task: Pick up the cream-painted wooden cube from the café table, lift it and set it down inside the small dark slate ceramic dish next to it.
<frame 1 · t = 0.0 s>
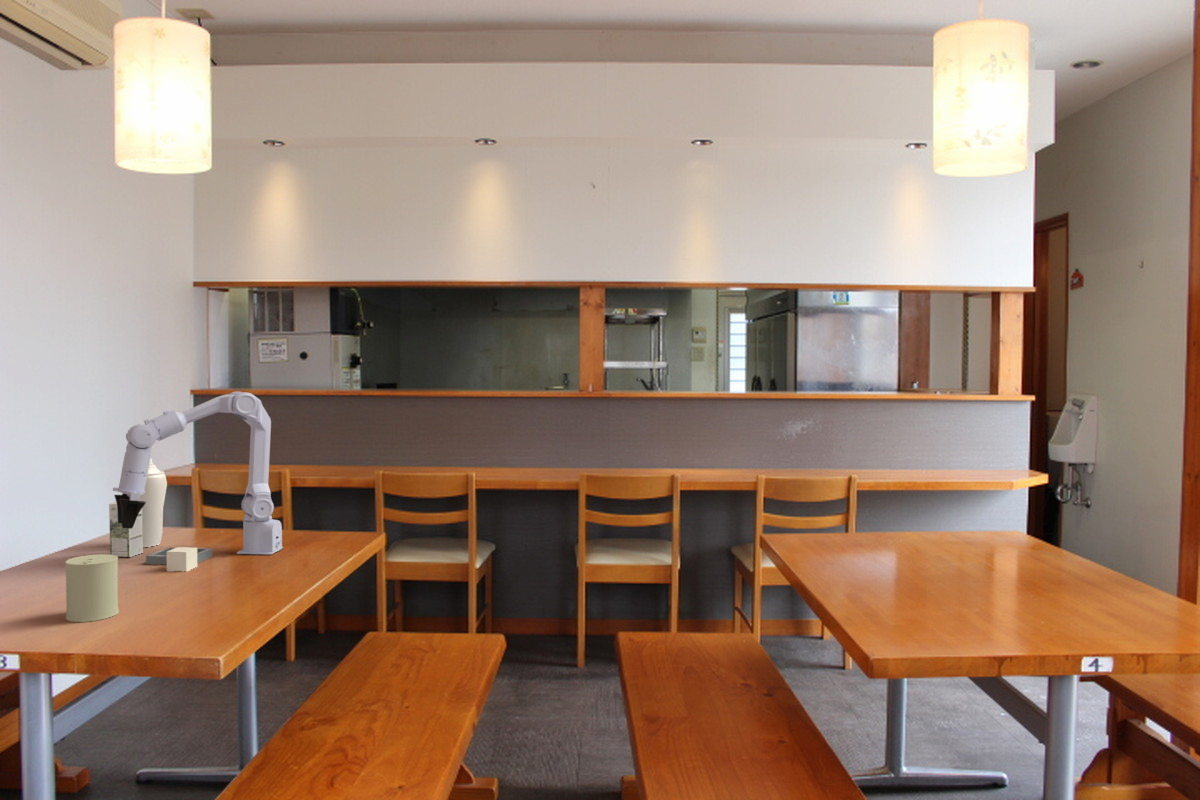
hand: (124, 525, 206), 11 cm above the table, tool pointing down, fingers open, 7 cm apart
syrup box: (126, 556, 219), on the table
can: (92, 616, 167), on the table
spray can: (146, 546, 231), on the table
slate dish: (180, 560, 214), on the table
cream cube: (182, 569, 206), on the table
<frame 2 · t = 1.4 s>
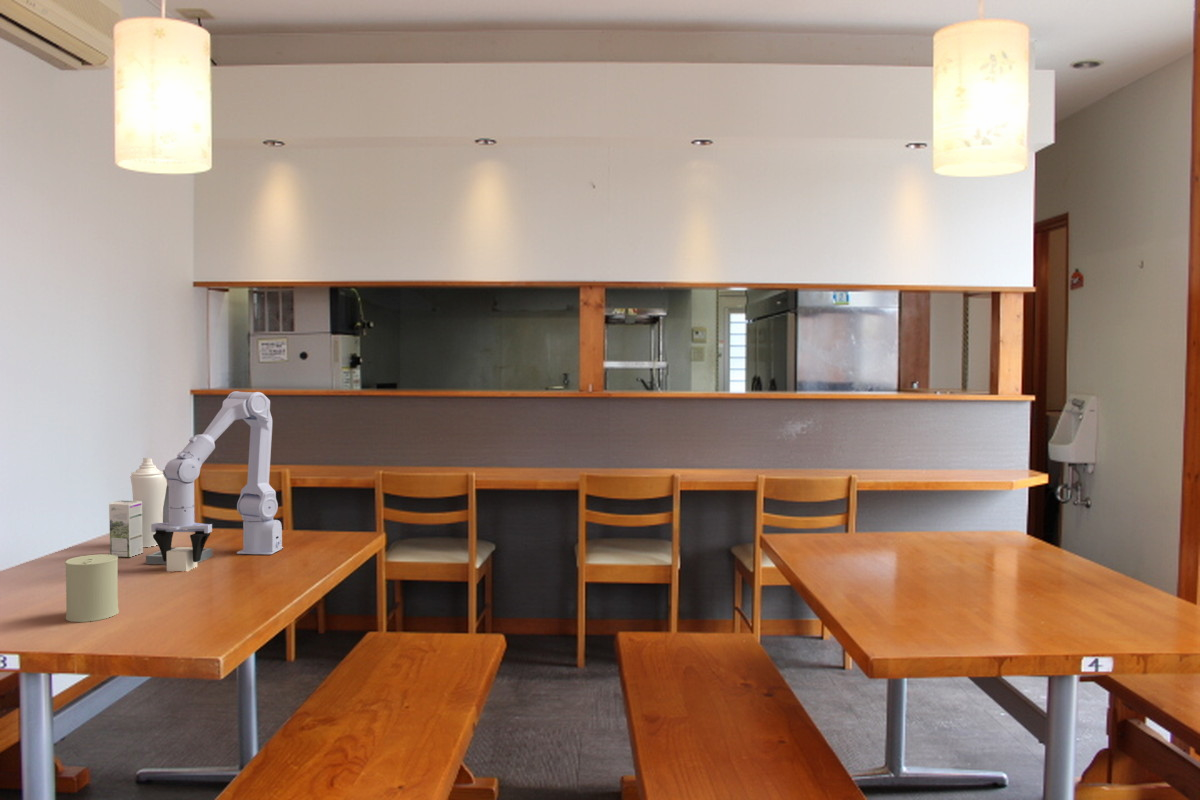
hand: (181, 560, 205), 2 cm above the table, tool pointing down, fingers open, 7 cm apart
nothing on the table moved.
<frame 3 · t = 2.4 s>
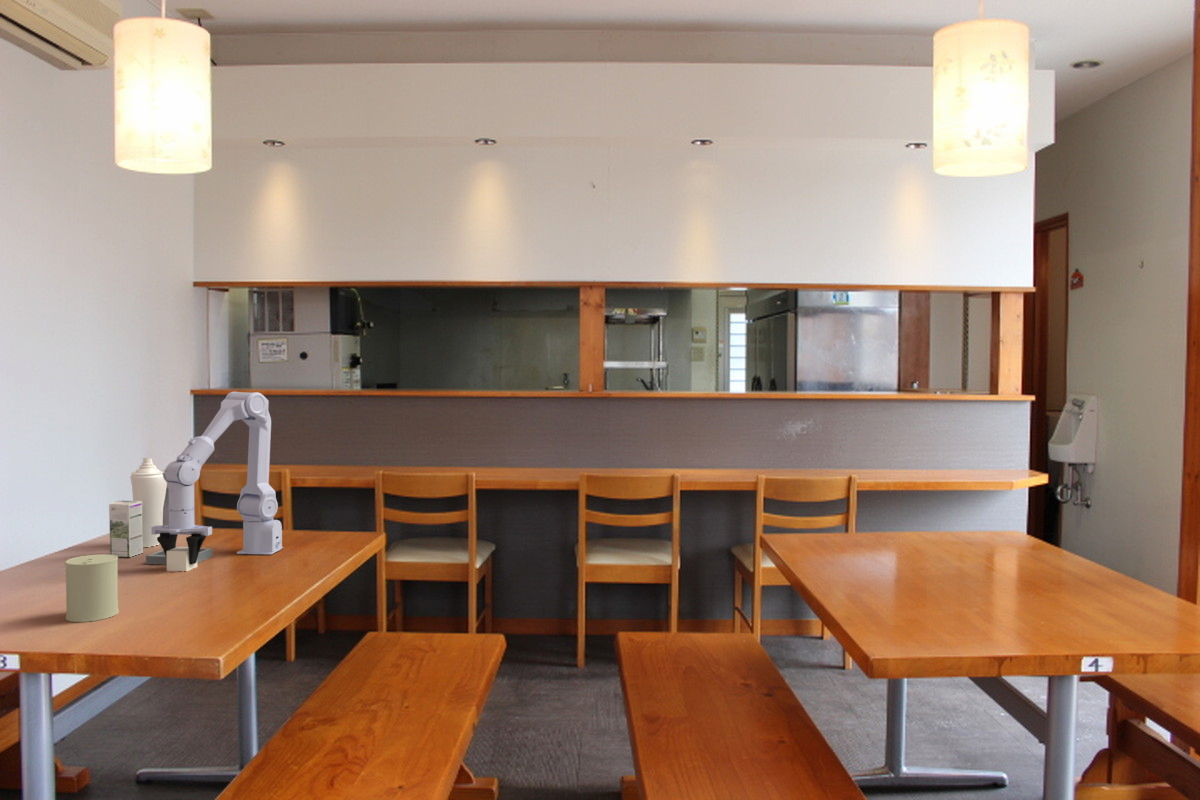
hand: (182, 563, 206), 1 cm above the table, tool pointing down, fingers closed on cream cube, 5 cm apart
cream cube: (182, 568, 206), on the table, touching gripper
everything else where it was.
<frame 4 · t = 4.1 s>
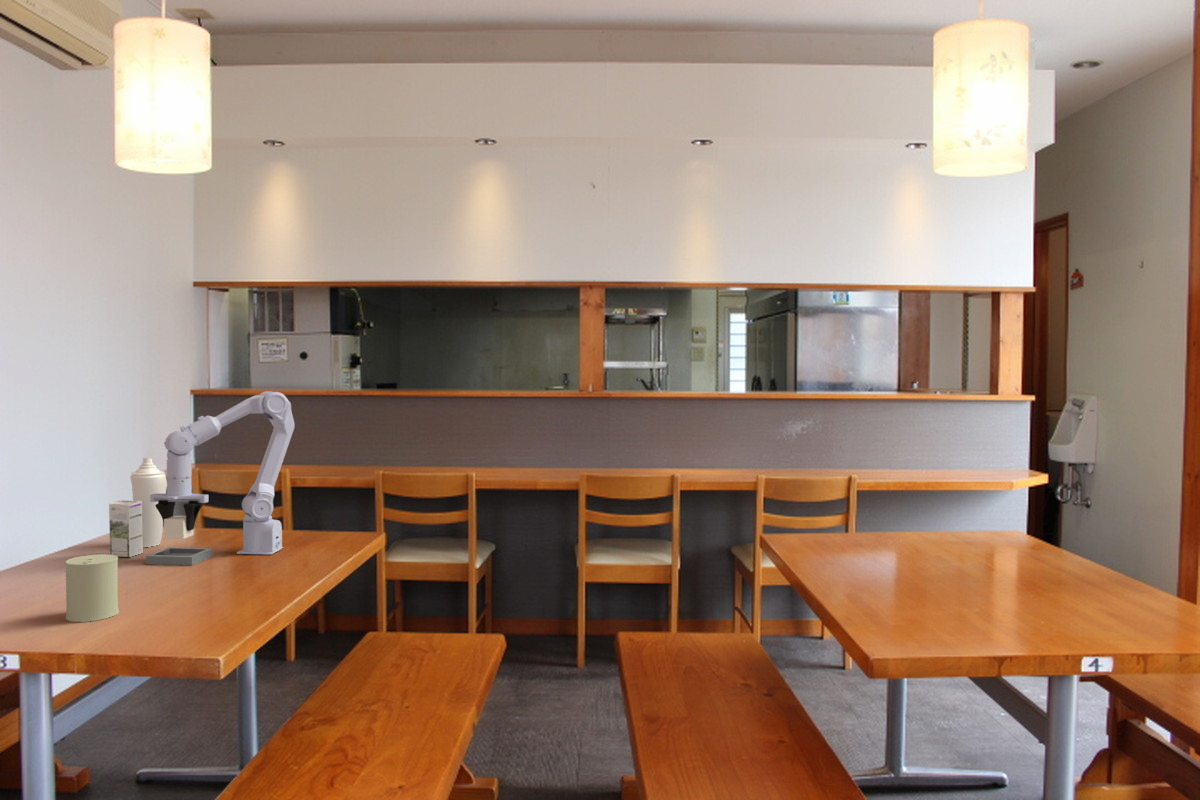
hand: (179, 529, 214), 8 cm above the table, tool pointing down, fingers closed on cream cube, 5 cm apart
cream cube: (179, 536, 214), point 6 cm above the table, touching gripper
everything else where it was.
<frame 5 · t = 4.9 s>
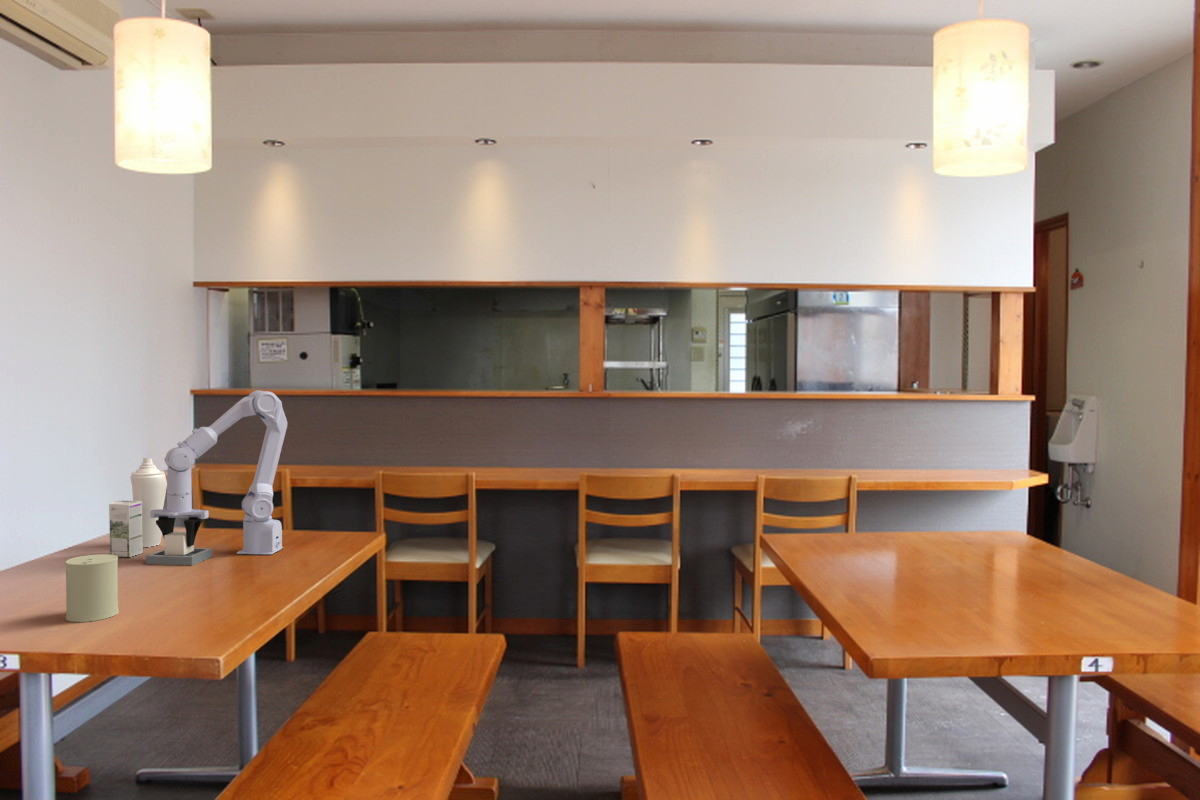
hand: (179, 545, 214), 4 cm above the table, tool pointing down, fingers closed on cream cube, 5 cm apart
cream cube: (179, 552, 214), point 2 cm above the table, touching gripper
everything else where it was.
when the fingers open (4 cm above the table, at t = 5.7 s): cream cube drops 1 cm, resting on slate dish.
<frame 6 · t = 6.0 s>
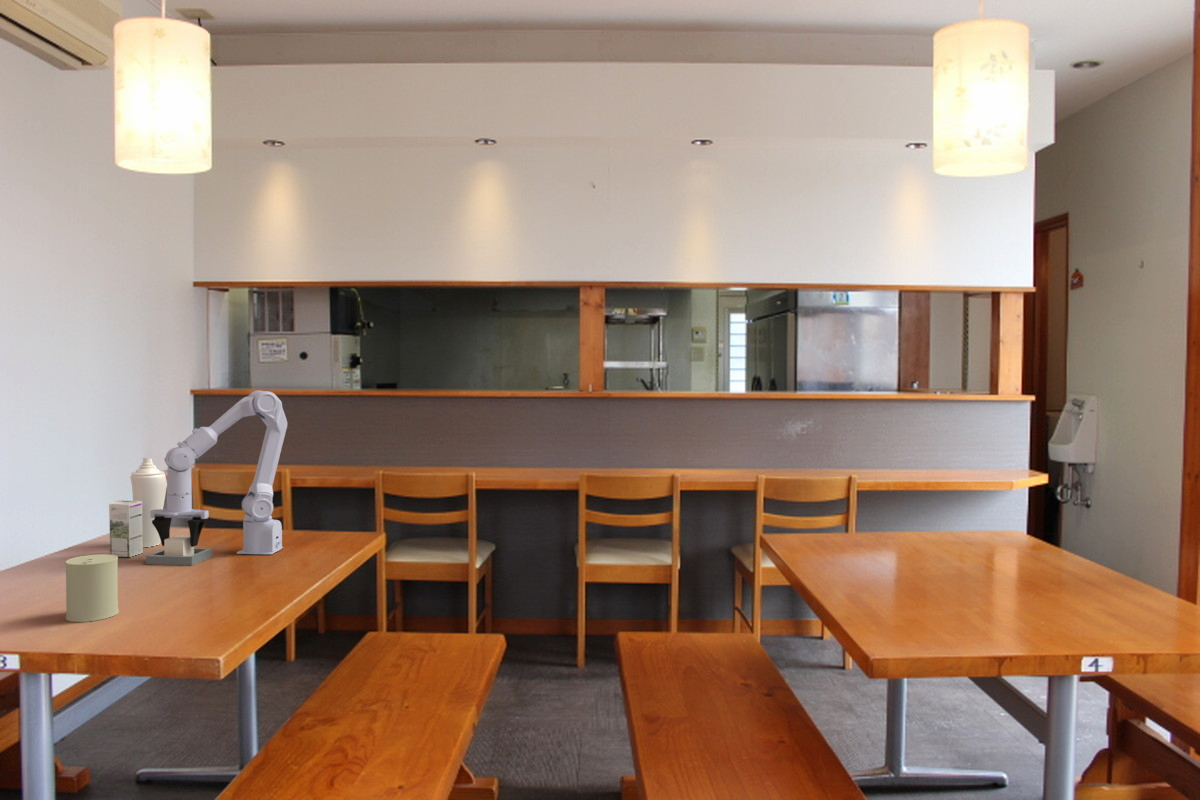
hand: (179, 545, 214), 4 cm above the table, tool pointing down, fingers open, 7 cm apart
cream cube: (179, 556, 214), point 1 cm above the table, touching slate dish
everything else where it was.
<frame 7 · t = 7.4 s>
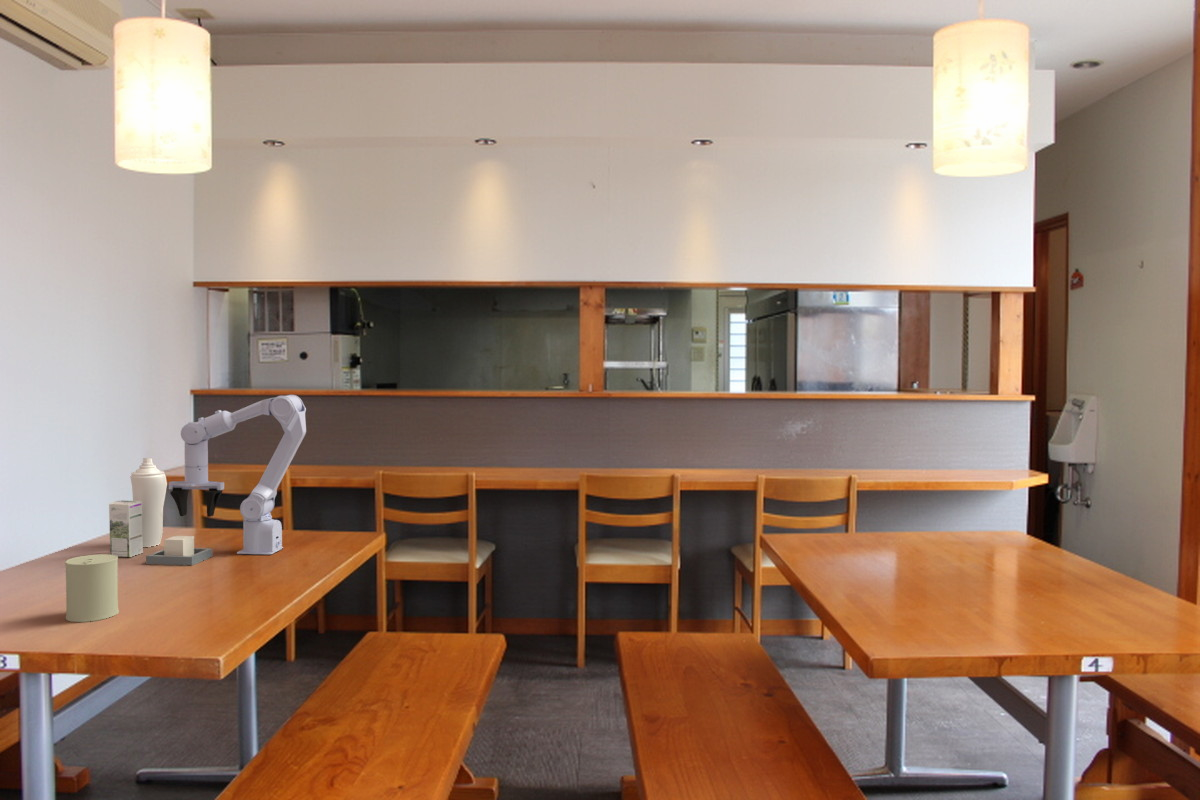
hand: (196, 515, 224), 10 cm above the table, tool pointing down, fingers open, 7 cm apart
nothing on the table moved.
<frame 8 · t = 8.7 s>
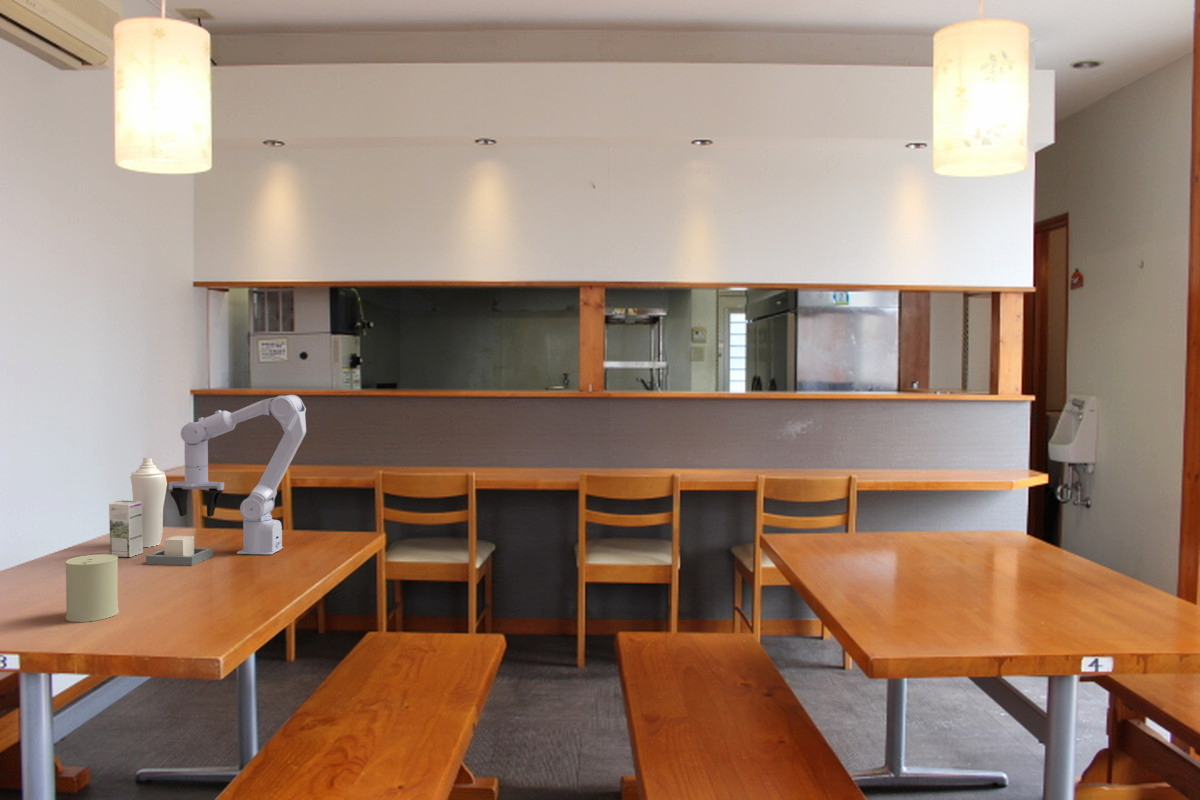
hand: (196, 515, 224), 10 cm above the table, tool pointing down, fingers open, 7 cm apart
nothing on the table moved.
at the end: cream cube inside the target area on the slate dish (0.2 cm from its centre), point 1.0 cm above the slate dish's base; cream cube tilted 0°; the gripper is holding nothing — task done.
